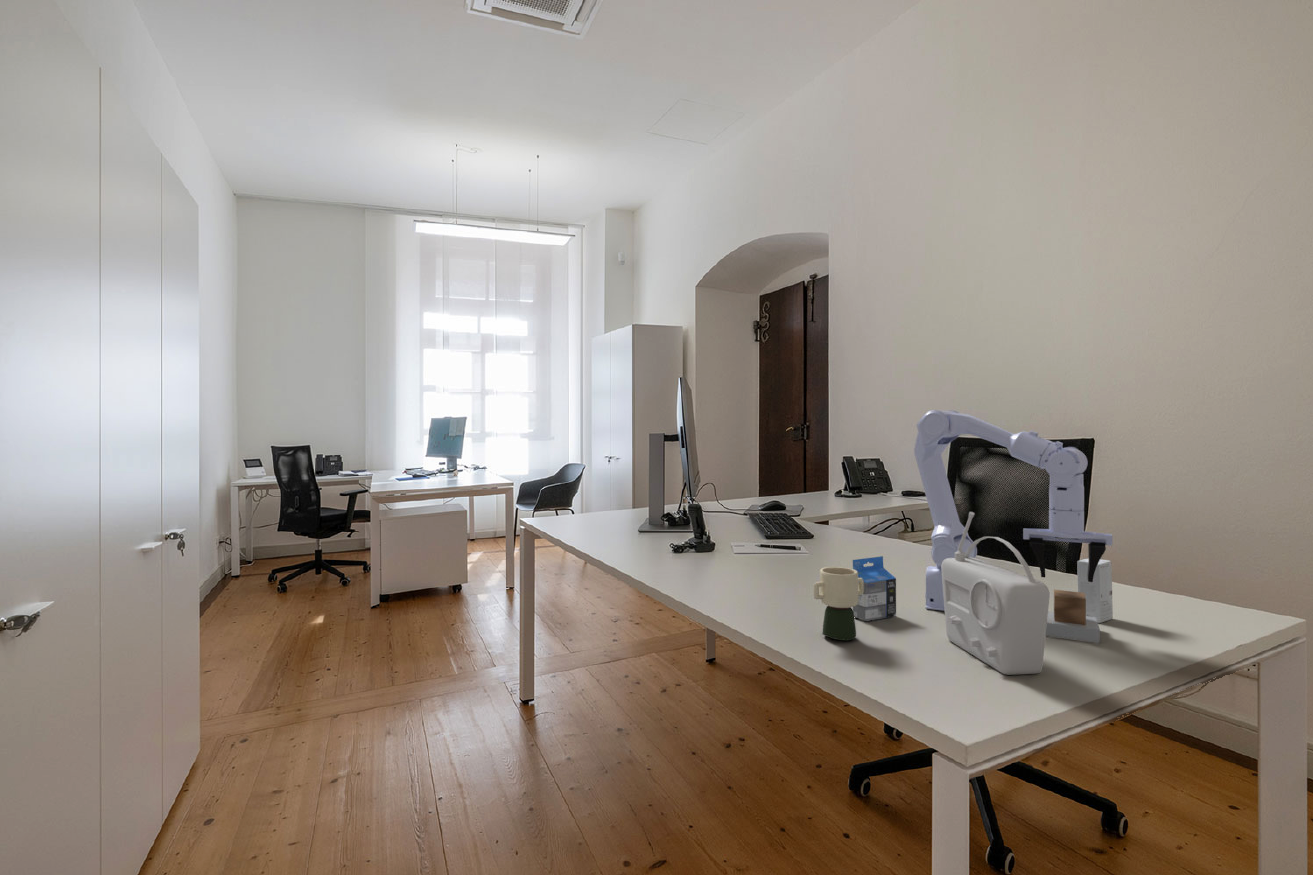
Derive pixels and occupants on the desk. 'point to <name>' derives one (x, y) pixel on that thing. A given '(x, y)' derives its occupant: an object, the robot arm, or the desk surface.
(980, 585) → the radio
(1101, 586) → the skincare box
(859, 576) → the ink cartridge box
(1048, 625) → the stoneware block
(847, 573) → the character mug
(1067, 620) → the walnut cube
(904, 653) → the desk surface
